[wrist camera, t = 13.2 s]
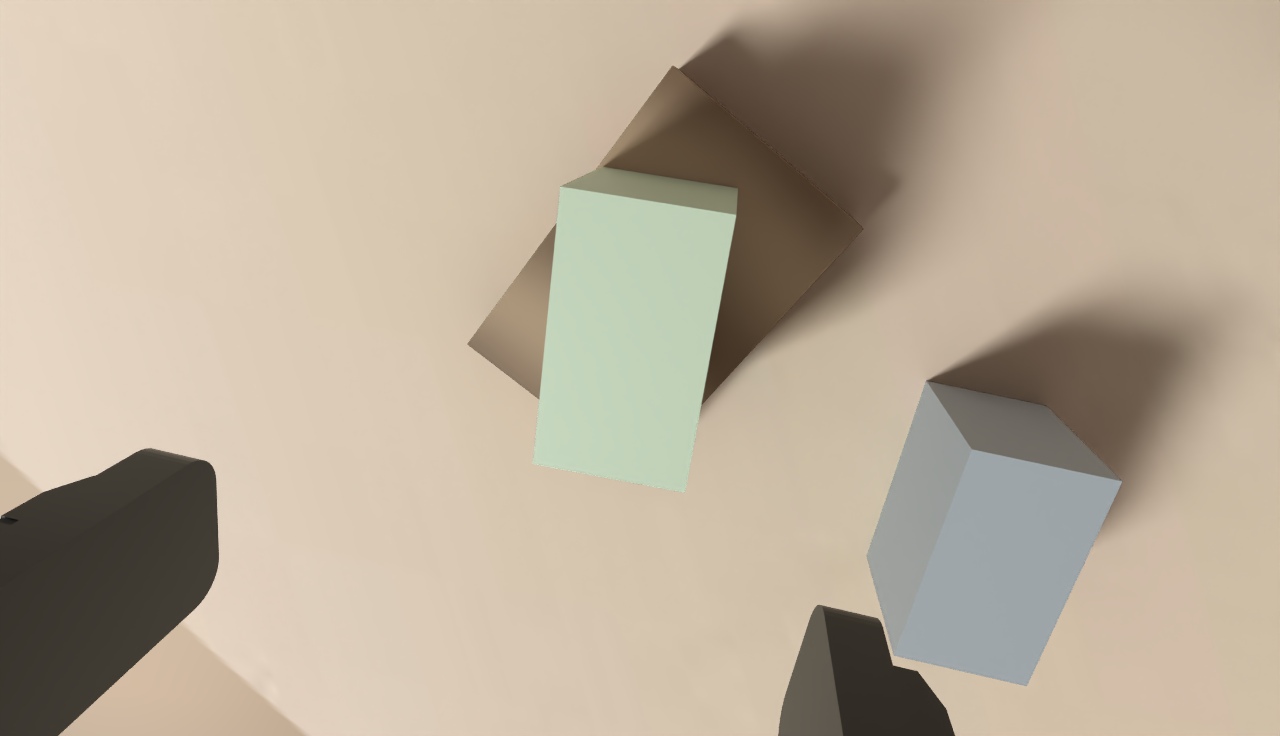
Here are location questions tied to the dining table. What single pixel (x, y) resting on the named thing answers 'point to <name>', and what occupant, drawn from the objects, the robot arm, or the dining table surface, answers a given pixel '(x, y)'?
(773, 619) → the dining table surface
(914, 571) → the slate brick
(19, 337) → the dining table surface
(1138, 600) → the dining table surface
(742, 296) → the walnut brick
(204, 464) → the robot arm
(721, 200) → the sage brick
